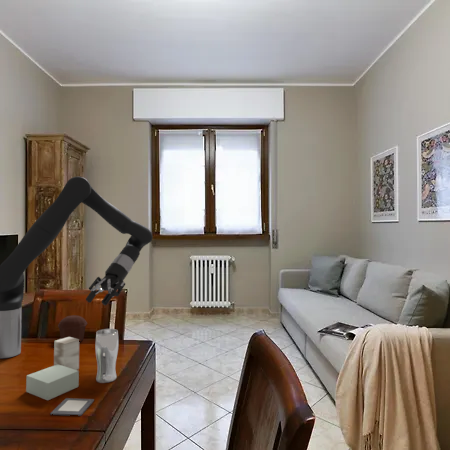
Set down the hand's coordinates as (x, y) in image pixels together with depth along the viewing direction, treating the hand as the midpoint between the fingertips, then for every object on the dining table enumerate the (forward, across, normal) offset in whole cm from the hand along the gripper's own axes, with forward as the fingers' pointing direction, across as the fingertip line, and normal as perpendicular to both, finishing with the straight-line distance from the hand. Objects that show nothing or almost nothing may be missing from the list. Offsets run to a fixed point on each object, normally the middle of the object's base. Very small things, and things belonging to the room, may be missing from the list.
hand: (95, 302), depth 128 cm
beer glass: (+21, +17, +8) cm, 28 cm away
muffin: (+8, -26, +22) cm, 35 cm away
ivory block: (+23, 0, +6) cm, 24 cm away
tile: (+33, +23, -4) cm, 41 cm away
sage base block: (+30, +9, -1) cm, 32 cm away
